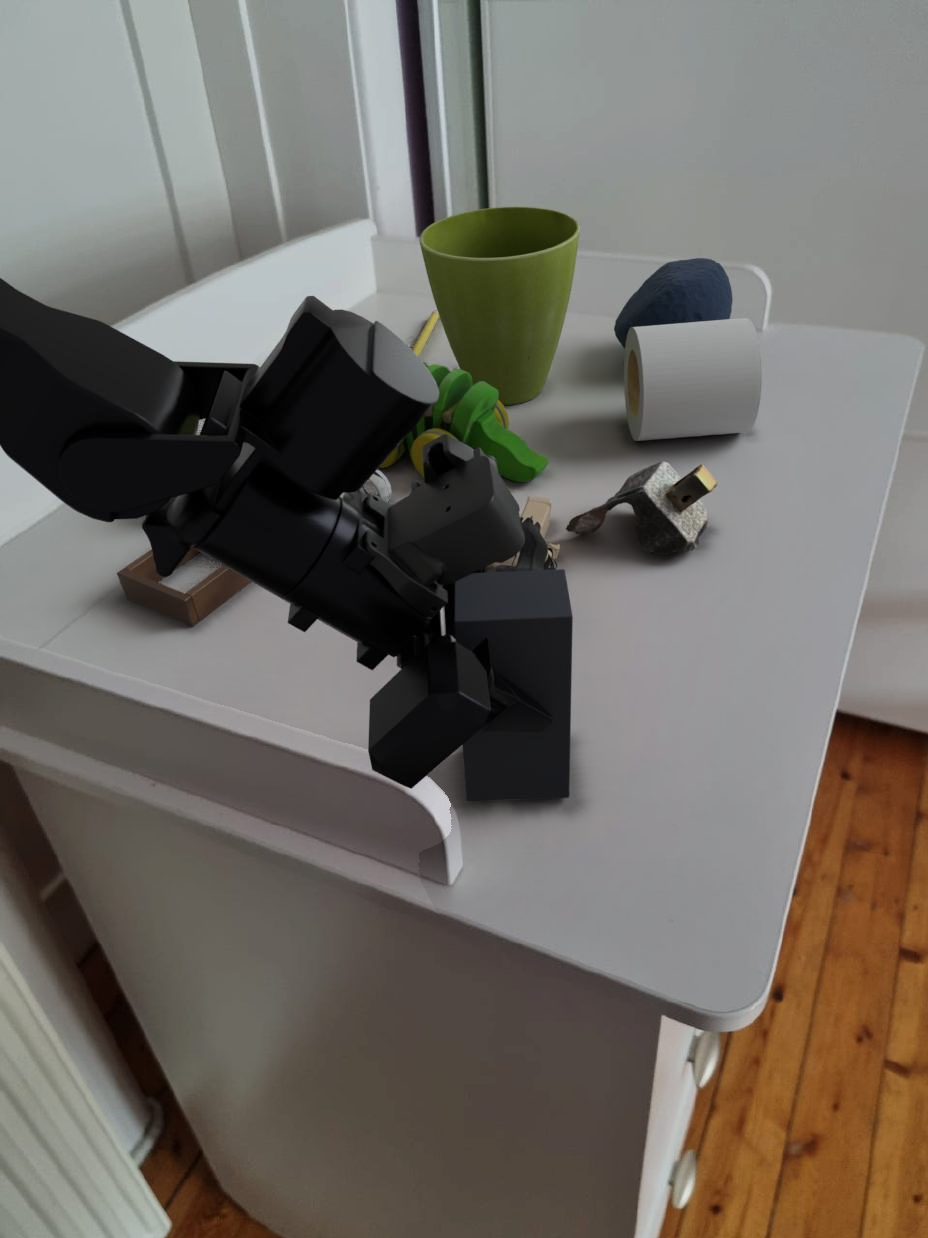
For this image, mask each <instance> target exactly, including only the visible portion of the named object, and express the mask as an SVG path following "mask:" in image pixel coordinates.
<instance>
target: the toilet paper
mask: <svg viewBox="0 0 928 1238" xmlns="http://www.w3.org/2000/svg"><path fill="white" fill-rule="evenodd" d="M623 361H624V362H623V385H624V386H623V387H624V402H625V412H626V418H627V424H628V425H627V426H628V429H629V432H630V436H631V438H632V440H634V441H635V442H637V441H638V442H639V441H640V442H641V441H654V440H664V439H665V440H666V439H677V438H678V439H679V438H680V439H681V438H689V437H690V438H691V437H703V436H704V437H705V436H715V435H716V436H717V435H728V434H729V435H730V434H740V433H743V434H744V433H749V432H750V431H751V430H752V428H753V427H754V425H755V423H756V420H757V417H758V415H759V414H758V413H759V410H760V405H761V398H762V397H761V395H762V385H763V384H762V380H763V379H762V377H763V374H762V373H763V371H762V369H763V368H762V355H761V348H760V342H759V338H758V334H757V331H756V328H755V326H754V324H753V322H752V321H751V320H750V319H749V318H747V317H741V318H730V319H726V320H714V321H702V322H690V323H677V324H665V325H653V326H641V327H631V328H630V329H629V331H628V334H627V339H626V346H625V348H624V358H623Z"/></svg>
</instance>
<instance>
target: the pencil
mask: <svg viewBox="0 0 928 1238" xmlns="http://www.w3.org/2000/svg"><path fill="white" fill-rule="evenodd" d="M439 319H440V316H439V313H438V310H437V309H434V310H433V311H432V312H431V314H430V316H429V318H428V320H427V321H426V323H425V325H424V326H423V329H422V331H421V332H420V335H419V336H418V338H417V340H416V341H415V344H414V346H413V347H412V348H411V349H412V350H413V352H414V353H415V354H416V355H417V356H418V357H420V355H421V353H422V351H423V349H424V347H425V345H426V343H427V341H428V339H429V337H430V335H431V333H432V332H433V330H434V328H435V327H436V323H437V322H438V320H439Z"/></svg>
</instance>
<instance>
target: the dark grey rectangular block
mask: <svg viewBox="0 0 928 1238" xmlns="http://www.w3.org/2000/svg"><path fill="white" fill-rule="evenodd" d="M571 604H572V603H571V598H570V592H569V586H568V580H567V575H566V570H565V569H564V568H560V569H559V568H558V569H557V568H556V569H555V570H533V571H511V572H488V573H472V574H470V575H468V576H466V577H464V578H462V579H460V580H458V581H456V582H454V631H455V639H456V642H457V643H459V644H460V645H462V646H463V647H465V648H467V649H468V650H470V651H472V650H473V649H474V648H475V647H476V646H477V645H478V644H480V643H481V642H482V641H483V640H484V639H485V638H486V637H488V638H489V639H490V645H491V654H492V662H493V668H494V669H495V670H496V671H498V672H499V673H500V674H501V675H503V676H504V677H505V678H507V679H508V680H509V681H511V682H512V683H513V684H514V685H516V686H517V687H518V688H520V689H521V690H522V691H524V692H525V693H526V694H528V695H529V696H530V697H531V698H533V699H534V700H535V701H537V702H538V703H539V704H540V705H541V706H542V707H543V708H544V709H546V710H547V711H548V712H549V713H550V714H551V715H552V717H553V723H552V724H551V725H549V726H548V727H547V728H546V729H544V730H543V731H541V732H483V731H482V732H477V733H475V734H474V735H473V736H472V737H471V738H470V739H468V740H467V741H466V742H465V743H464V744H463V745H462V758H463V771H464V783H465V784H464V785H465V786H464V787H465V799H466V802H492V801H493V802H494V801H496V802H497V801H521V800H523V801H524V800H545V799H546V800H549V799H569V798H570V783H571V782H570V780H571V779H570V778H571V777H570V776H571V734H572V733H571V731H572V730H571V729H572V728H571V725H572V681H573V680H572V677H573V675H572V672H573V627H574V626H573V625H574V624H573V623H574V618H573V617H574V616H573V610H572V605H571Z"/></svg>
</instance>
